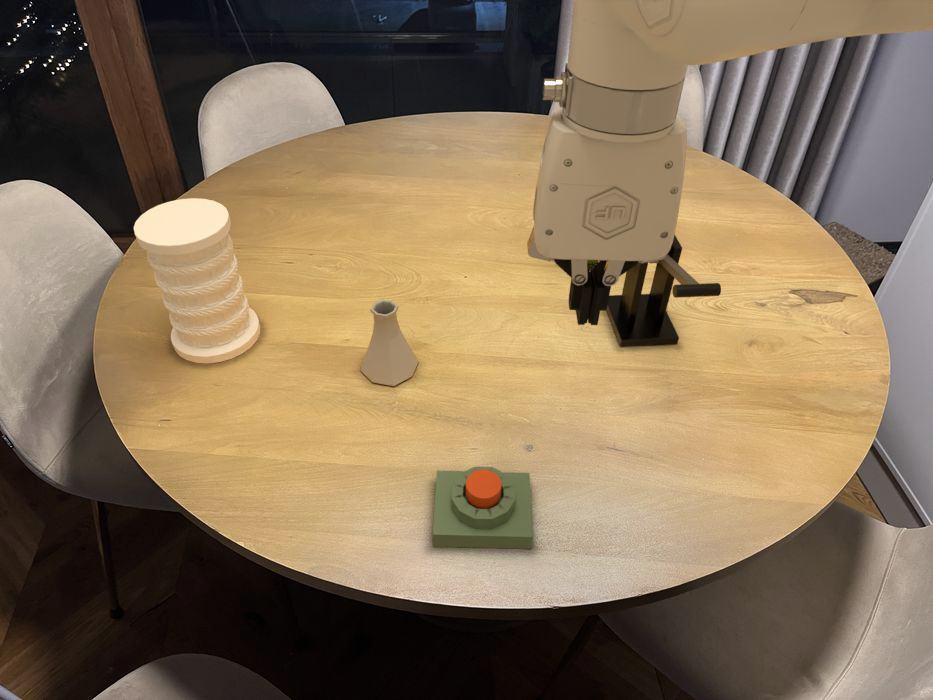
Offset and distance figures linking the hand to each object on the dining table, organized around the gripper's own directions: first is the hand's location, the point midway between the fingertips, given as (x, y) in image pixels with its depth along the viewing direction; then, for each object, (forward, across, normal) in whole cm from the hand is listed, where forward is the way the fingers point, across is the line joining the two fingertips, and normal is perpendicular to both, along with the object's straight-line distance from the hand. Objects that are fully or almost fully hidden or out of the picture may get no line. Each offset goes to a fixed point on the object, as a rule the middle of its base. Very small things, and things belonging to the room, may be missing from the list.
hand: (585, 314), depth 57 cm
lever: (+13, +15, +23) cm, 30 cm away
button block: (+25, -8, -3) cm, 27 cm away
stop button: (+21, -8, -3) cm, 23 cm away
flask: (+25, -20, +20) cm, 38 cm away
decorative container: (+25, -45, +25) cm, 57 cm away
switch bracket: (+25, +14, +30) cm, 42 cm away
